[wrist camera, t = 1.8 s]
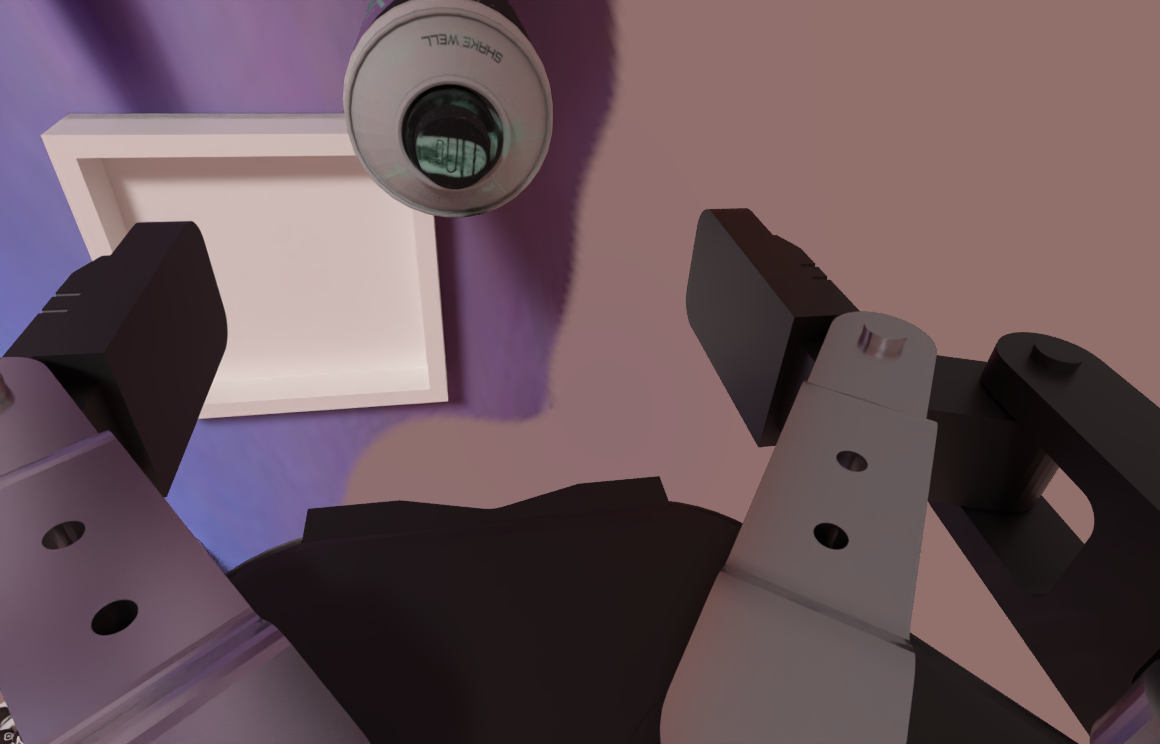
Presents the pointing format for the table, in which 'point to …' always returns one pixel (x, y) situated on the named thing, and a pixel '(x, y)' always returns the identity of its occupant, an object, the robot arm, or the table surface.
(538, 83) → the spray can
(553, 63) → the table surface
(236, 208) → the tray
